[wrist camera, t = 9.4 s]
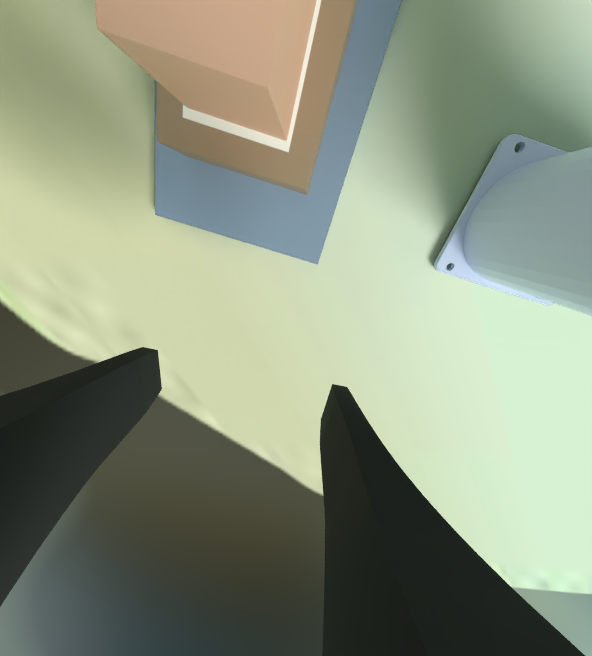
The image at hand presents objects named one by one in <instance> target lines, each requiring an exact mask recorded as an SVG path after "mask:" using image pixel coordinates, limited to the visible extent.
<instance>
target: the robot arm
mask: <svg viewBox="0 0 592 656" xmlns="http://www.w3.org/2000/svg"><path fill="white" fill-rule="evenodd" d="M517 144H518V145H519V151H518V152H517V153H516V152H515V146H516V145H517ZM449 263H451V267H450V268H449V269H446V267H447V265H448V264H449ZM434 268H435V270H437V271H439V272H443V273H446V274H449V275H452V276H455V277H459V278H462V279H465V280H468V281H471V282H474V283H478V284H481V285H484V286H487V287H490V288H494V289H497V290H500V291H503V292H506V293H510V294H513V295H516V296H519V297H522V298H525V299H529V300H532V301H535V302H538V303H541V304H545V305H553V304H558V305H561V306H563V307H566V308H569V309H572V310H575V311H578V312H581V313H584V314H587V315H589V316H592V147H588V148H585V149H581V150H577V151H573V152H567V151H564V150H561V149H558V148H555V147H553V146H550V145H547V144H544V143H541V142H538V141H536V140H533V139H530V138H527V137H524V136H522V135H519V134H512V135H509V136H507V137H505V138H504V139H502V141H501V142H500V143H499V145H498V147H497V149H496V151H495V152H494V154H493V156H492V158H491V160H490V162H489V163H488V165H487V167H486V169H485V171H484V173H483V174H482V176H481V178H480V180H479V182H478V184H477V185H476V187H475V189H474V191H473V193H472V195H471V196H470V198H469V200H468V202H467V204H466V206H465V207H464V209H463V211H462V213H461V215H460V217H459V218H458V220H457V222H456V224H455V226H454V228H453V229H452V231H451V233H450V235H449V237H448V239H447V240H446V242H445V244H444V246H443V248H442V250H441V251H440V253H439V255H438V257H437V259H436V261H435V263H434ZM161 389H162V387H161V377H160V368H159V358H158V350H154V349H149V348H144V347H142V348H139V349H135V350H132V351H129V352H126V353H124V354H121V355H118V356H115V357H113V358H110V359H107V360H104V361H102V362H99V363H96V364H94V365H91V366H88V367H85V368H83V369H80V370H77V371H75V372H72V373H69V374H66V375H63V376H60V377H57V378H54V379H51V380H48V381H46V382H42V383H39V384H37V385H34V386H31V387H27V388H24V389H21V390H18V391H15V392H11V393H8V394H5V395H2V396H0V606H1V605H2V603H3V601H4V600H5V598H6V597H7V595H8V594H9V592H10V591H11V589H12V588H13V586H14V585H15V583H16V582H17V580H18V579H19V577H20V576H21V574H22V573H23V571H24V570H25V568H26V567H27V565H28V564H29V562H30V561H31V559H32V558H33V556H34V555H35V553H36V552H37V550H38V549H39V547H40V546H41V544H42V543H43V542H44V540H45V539H46V537H47V536H48V535H49V533H50V532H51V530H52V529H53V528H54V526H55V525H56V523H57V522H58V520H59V519H60V518H61V516H62V514H63V513H64V512H65V510H66V509H67V508H68V506H69V505H70V504H71V502H72V501H73V499H74V498H75V497H76V495H77V494H78V493H79V492H80V490H81V489H82V487H83V486H84V485H85V483H86V482H87V481H88V479H89V478H90V477H91V476H92V474H93V473H94V472H95V471H96V470H97V468H98V467H99V466H100V465H101V464H102V462H103V461H104V460H105V459H106V458H107V457H108V456H109V454H110V453H111V452H112V451H113V450H114V449H115V448H116V446H117V445H118V444H119V443H120V442H121V441H122V439H123V438H124V437H125V436H126V435H127V434H128V433H129V431H130V430H131V429H132V428H133V427H134V426H135V425H136V424H137V422H138V421H139V420H140V419H141V418H142V417H143V415H144V414H145V413H146V412H147V410H148V409H149V407H150V406H151V405H152V403H153V402H154V400H155V399H156V397H157V396H158V394H159V393H160V391H161ZM320 453H321V467H322V481H323V494H324V506H325V582H324V583H325V584H324V624H323V656H585V655H584V654H583V653H581V652H580V651H579V650H578V649H577V648H576V647H575V646H574V645H573V644H572V643H571V642H570V641H568V640H567V639H566V638H565V637H564V636H563V635H562V634H561V633H560V632H559V631H558V630H557V629H555V628H554V627H553V626H552V625H551V624H550V623H549V622H548V621H547V620H546V619H545V618H544V617H543V616H541V615H540V614H539V613H538V612H537V611H536V610H535V609H534V608H533V607H532V606H531V605H529V604H528V603H527V602H526V601H525V600H524V599H523V598H522V597H521V596H520V595H519V594H518V593H517V592H515V590H513V589H512V588H511V587H510V586H509V585H508V584H507V583H506V582H505V581H504V580H503V579H502V578H501V577H500V576H499V575H498V574H497V573H496V572H495V571H494V570H493V569H492V568H491V567H490V566H489V565H488V564H487V563H486V562H485V561H484V560H483V559H482V558H481V557H480V556H479V555H478V554H477V553H476V552H475V551H474V550H473V549H472V548H471V547H470V546H469V545H468V544H467V543H466V542H465V541H464V540H463V539H462V537H461V536H460V535H459V534H458V533H457V532H456V531H455V530H454V529H453V528H452V527H451V526H450V525H449V524H448V522H447V521H446V520H445V519H444V518H443V517H442V516H441V515H440V514H439V513H438V512H437V510H436V509H435V508H434V507H433V506H432V505H431V504H430V503H429V501H428V500H427V499H426V498H425V497H424V496H423V495H422V493H421V492H420V491H419V490H418V489H417V487H416V486H415V485H414V484H413V483H412V481H411V480H410V479H409V478H408V476H407V475H406V474H405V473H404V472H403V470H402V469H401V468H400V466H399V465H398V464H397V463H396V461H395V460H394V459H393V457H392V456H391V454H390V453H389V452H388V450H387V449H386V448H385V446H384V445H383V443H382V442H381V440H380V439H379V437H378V436H377V434H376V433H375V431H374V430H373V428H372V427H371V425H370V424H369V422H368V421H367V419H366V417H365V416H364V414H363V413H362V411H361V409H360V408H359V406H358V404H357V403H356V401H355V399H354V398H353V396H352V394H351V393H350V391H349V389H348V388H347V387H344V386H339V385H334V384H332V387H331V390H330V393H329V396H328V399H327V403H326V406H325V409H324V412H323V415H322V418H321V429H320Z"/></svg>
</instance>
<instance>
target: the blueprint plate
mask: <svg viewBox="0 0 592 656" xmlns="http://www.w3.org/2000/svg"><path fill="white" fill-rule="evenodd" d="M401 1H402V0H317V1H316V6H315V10H314V15H313V20H312V25H311V29H310V34H309V39H308V43H307V48H306V53H305V58H304V62H303V67H302V72H301V77H300V81H299V86H298V91H297V95H296V100H295V105H294V110H293V114H292V119H291V124H290V129H289V133H288V138H287V141H284V140H281V139H278V138H275V137H272V136H269V135H266V134H263V133H260V132H257V131H254V130H251V129H248V128H245V127H243V126H240V125H237V124H234V123H231V122H228V121H225V120H222V119H219V118H216V117H213V116H210V115H207V114H204V113H201V112H198V111H195V110H192V109H189V108H187V107H186V106H185V105H183V104H182V103H181V102H180V101H179V100H178V99H177V98H175V97H174V96H173V95H172V94H171V93H170V92H169V91H168V90H166V89H165V88H164V87H163V86H162V85H161V84H160V83H158V82H157V81H156V80H155V215H158V216H161V217H164V218H168V219H171V220H174V221H177V222H181V223H184V224H187V225H190V226H194V227H197V228H200V229H204V230H207V231H210V232H213V233H217V234H220V235H223V236H226V237H230V238H233V239H236V240H239V241H243V242H246V243H249V244H253V245H256V246H259V247H262V248H266V249H269V250H272V251H275V252H279V253H282V254H285V255H288V256H292V257H295V258H298V259H302V260H305V261H308V262H311V263H315V264H318V261H319V258H320V255H321V252H322V249H323V246H324V242H325V239H326V236H327V233H328V230H329V227H330V224H331V221H332V217H333V214H334V211H335V208H336V205H337V202H338V199H339V195H340V192H341V189H342V186H343V183H344V180H345V177H346V174H347V170H348V167H349V164H350V161H351V158H352V155H353V152H354V148H355V145H356V142H357V139H358V136H359V133H360V130H361V127H362V123H363V120H364V117H365V114H366V111H367V108H368V105H369V101H370V98H371V95H372V92H373V89H374V86H375V83H376V80H377V76H378V73H379V70H380V67H381V64H382V61H383V58H384V54H385V51H386V48H387V45H388V42H389V39H390V36H391V33H392V29H393V26H394V23H395V20H396V17H397V14H398V11H399V7H400V4H401Z"/></svg>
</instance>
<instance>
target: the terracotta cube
mask: <svg viewBox="0 0 592 656" xmlns="http://www.w3.org/2000/svg"><path fill="white" fill-rule="evenodd" d="M316 1H317V0H95V5H96V19H97V29H98V30H100V31H101V32H102V33H103V34H104V35H105V36H106V37H107V38H109V39H110V40H111V41H112V42H113V43H114V44H115V45H117V46H118V47H119V48H120V49H121V50H122V51H123V52H124V53H126V54H127V55H128V56H129V57H130V58H131V59H132V60H134V61H135V62H136V63H137V64H138V65H139V66H140V67H141V68H143V69H144V70H145V71H146V72H147V73H148V74H149V75H151V76H152V77H153V78H154V79H155V80H156V81H157V82H158V83H160V84H161V85H162V86H163V87H164V88H165V89H166V90H168V91H169V92H170V93H171V94H172V95H173V96H174V97H175V98H177V99H178V100H179V101H180V102H181V103H182V104H183V105H185V106H186V107H187V108H189V109H192V110H195V111H198V112H201V113H204V114H207V115H210V116H213V117H216V118H219V119H222V120H225V121H228V122H231V123H234V124H237V125H240V126H243V127H245V128H248V129H251V130H254V131H257V132H260V133H263V134H266V135H269V136H272V137H275V138H278V139H281V140H284V141H287V138H288V133H289V129H290V124H291V119H292V114H293V110H294V105H295V100H296V95H297V91H298V86H299V81H300V77H301V72H302V67H303V62H304V58H305V53H306V48H307V43H308V39H309V34H310V29H311V25H312V20H313V15H314V10H315V6H316Z"/></svg>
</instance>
